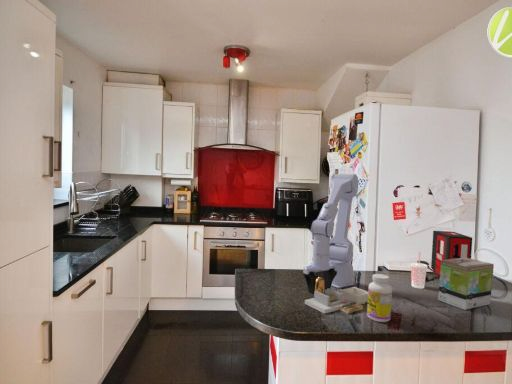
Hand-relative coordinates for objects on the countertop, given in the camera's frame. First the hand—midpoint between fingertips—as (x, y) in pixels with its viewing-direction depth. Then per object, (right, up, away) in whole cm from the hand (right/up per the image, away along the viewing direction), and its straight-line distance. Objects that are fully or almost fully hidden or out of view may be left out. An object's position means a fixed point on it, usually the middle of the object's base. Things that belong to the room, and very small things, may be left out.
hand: (319, 291), depth 113 cm
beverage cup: (+43, -3, +15) cm, 45 cm away
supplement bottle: (+14, -3, -18) cm, 23 cm away
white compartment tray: (+1, -2, -9) cm, 9 cm away
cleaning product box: (+64, -3, +29) cm, 70 cm away
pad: (+1, 0, -9) cm, 9 cm away
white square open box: (+12, -2, -3) cm, 12 cm away
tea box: (+51, -4, -1) cm, 51 cm away
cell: (0, -1, 0) cm, 1 cm away
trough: (+8, -2, -12) cm, 14 cm away
